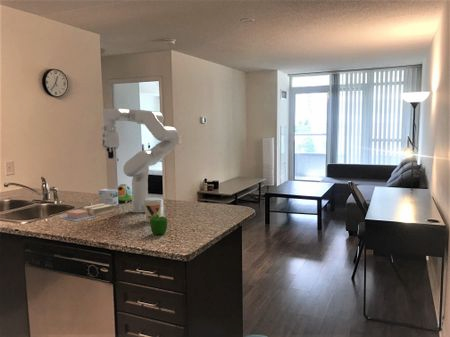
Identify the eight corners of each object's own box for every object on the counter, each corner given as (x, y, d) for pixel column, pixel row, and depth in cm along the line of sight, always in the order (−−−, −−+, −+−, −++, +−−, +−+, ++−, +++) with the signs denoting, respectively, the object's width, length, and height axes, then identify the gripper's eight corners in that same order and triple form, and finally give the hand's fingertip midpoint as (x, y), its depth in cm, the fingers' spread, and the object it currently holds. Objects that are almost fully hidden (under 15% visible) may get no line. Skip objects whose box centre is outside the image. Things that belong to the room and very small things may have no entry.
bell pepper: (168, 231, 192) (168, 211, 191) (166, 235, 183) (166, 215, 182) (151, 231, 191) (151, 211, 190) (148, 236, 183) (148, 215, 182)
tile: (77, 213, 218) (77, 218, 218) (88, 211, 223) (88, 216, 224) (66, 211, 223) (67, 216, 224) (77, 209, 229) (77, 214, 229)
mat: (95, 216, 224) (95, 216, 224) (75, 221, 213) (75, 220, 213) (78, 213, 233) (78, 213, 233) (58, 217, 222) (58, 217, 222)
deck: (114, 211, 237) (114, 205, 237) (95, 216, 226) (94, 209, 226) (101, 209, 244) (101, 203, 244) (82, 213, 233) (82, 207, 232)
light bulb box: (118, 205, 259) (118, 189, 258) (113, 206, 253) (112, 190, 252) (104, 204, 262) (103, 188, 261) (98, 206, 255) (98, 190, 254)
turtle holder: (137, 198, 282) (136, 182, 281) (128, 203, 264) (127, 186, 263) (120, 198, 283) (119, 182, 282) (110, 203, 265) (110, 186, 264)
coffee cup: (145, 223, 209) (144, 201, 208) (144, 219, 218) (143, 198, 217) (162, 221, 211) (162, 200, 210) (160, 218, 220) (160, 197, 219)
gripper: (104, 129, 234) (105, 159, 236) (123, 129, 246) (124, 157, 248) (96, 129, 238) (97, 158, 240) (115, 129, 251) (116, 157, 252)
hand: (110, 158), depth 244 cm, fingers closed
